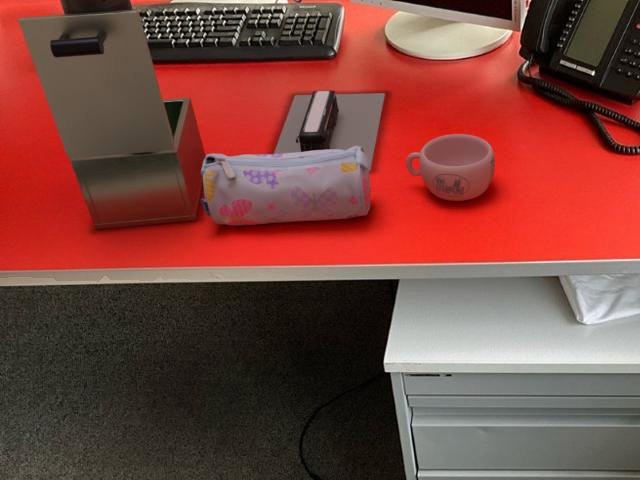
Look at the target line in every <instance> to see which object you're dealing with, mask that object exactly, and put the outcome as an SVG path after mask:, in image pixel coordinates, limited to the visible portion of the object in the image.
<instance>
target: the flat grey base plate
mask: <svg viewBox="0 0 640 480" xmlns="http://www.w3.org/2000/svg"><path fill="white" fill-rule="evenodd" d="M385 96H386V93H385V92H378V93H377V92H374V93H371V92H369V93H336V91H335V90H314V91H312V94H295V95H294V97H293V100H292V103H291V105H290V108H289V111H288V113H287V116H286V118H285V121H284V124H283V127H282V129H281V132H280V135H279V138H278V141H277V144H276V147H275V149H274V152H273V154H282V153H295V152H306V151H314V150H327V149H340V150H347V149H349V148H351V147H354V146H359V147H362V148H363V149H364V152H365V155H366V156H367V157H368V169H369V172H370V171H372V170H371V169H372V163H373V158H374V153H375V149H376V144H377V138H378V133H379V127H380V122H381V116H382V112H383V106H384V101H385Z"/></svg>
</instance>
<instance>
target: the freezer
mask: <svg viewBox="0 0 640 480" xmlns="http://www.w3.org/2000/svg"><path fill="white" fill-rule="evenodd" d="M163 102H164V106H165V110H166V113H167V117H168V120H169V124H170V128H171V131H172V135H173V139H174V142H175V146H176V148H175V150H166V151H155V152H143V153H131V154H119V155H107V156H95V157H83V158H71V159H69V161H70V164H71V167H72V170H73V172H74V174H75V177H76V180H77V184H78V186H79V188H80V191H81V194H82V196H83V199H84V202H85V205H86V207H87V210H88V212H89V215H90V217H91V220H92V223H93V226H94V229H95V230H106V229H116V228H118V229H119V228H127V227H128V228H129V227H139V226H149V225H162V224H172V223H180V222H181V223H182V222H183V223H184V222H193V221H196V220H197V216H198V213H199V208H200V207H199V206H200V203H201V201H200V199H201V196H202V192H203V187H204V184H203V179H202V176H201V169H202V165H203V161H204V159H205V157H206V156H207V155H206V152H205V149H204V148H205V147H204V144H203V141H202V137H201V133H200V129H199V126H198V122H197V119H196V118H197V117H196V114H195V110H194V107H193V102H192V99H191V97H180V98H168V99H163Z"/></svg>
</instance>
